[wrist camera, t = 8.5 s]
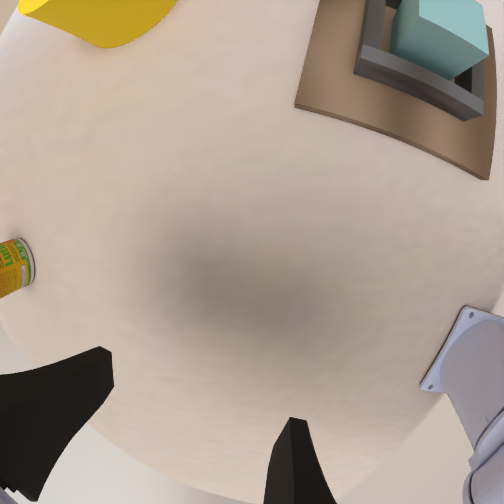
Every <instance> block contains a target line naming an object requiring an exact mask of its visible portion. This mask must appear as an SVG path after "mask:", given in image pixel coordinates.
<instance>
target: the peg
mask: <svg viewBox="0 0 504 504" xmlns="http://www.w3.org/2000/svg"><path fill="white" fill-rule="evenodd" d="M389 53H390V54H393V55H395V56H398V57H400V58H403V59H405V60H407V61H410V62H412V63H414V64H417V65H419V66H421V67H423V68H425V69H427V70H429V71H432V72H434V73H436V74H438V75H440V76H441V77H443V78H445V79H447V80H449V81H450V80H452V79H453V78H455V77H456V76H458V75H459V74H461V73H462V72H464V71H465V70H467V69H469V68H470V67H472V66H473V65H475V64H476V63H478V62H479V61H481V60H483V59H484V58H486V57H487V56H489V49H488V39H487V31H486V24H485V18H484V13H483V7H482V5H481V4H479V3H478V2H476V1H474V0H402V2H401V4H400V6H399V8H398V9H397V11H396V13H395V15H394V17H393V20H392V31H391V40H390V49H389Z"/></svg>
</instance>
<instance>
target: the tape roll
mask: <svg viewBox="0 0 504 504" xmlns="http://www.w3.org/2000/svg"><path fill="white" fill-rule="evenodd" d="M176 2H177V0H20V1H19V5H18V10H19V12H20V13H21V14H23V15H26V16H29V17H31V18H34V19H37V20H39V21H42V22H44V23H47V24H49V25H52V26H54V27H56V28H59V29H61V30H63V31H66V32H68V33H70V34H72V35H75V36H77V37H79V38H81V39H83V40H85V41H87V42H89V43H91V44H93V45H95V46H98V47H101V48H113V47H118V46H121V45H124V44H126V43H129V42H131V41H133V40H135V39H136V38H138V37H140V36H141V35H143V34H144V33H146V32H147V31H149V30H150V29H151V28H153V27H154V26H155V25H156V24H158V23H159V22H160V21H161V20H162V19H163V18H164V17H165V16H166V15H167V14H168V13H169V11H170V10H171V9H172V8H173V6H174V5H175V4H176Z"/></svg>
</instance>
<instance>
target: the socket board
mask: <svg viewBox="0 0 504 504" xmlns="http://www.w3.org/2000/svg"><path fill="white" fill-rule="evenodd" d="M401 2H402V0H320V2H319V6H318V10H317V14H316V18H315V22H314V27H313V31H312V35H311V39H310V43H309V47H308V51H307V55H306V59H305V63H304V67H303V71H302V75H301V79H300V83H299V87H298V91H297V95H296V99H295V108H299V109H304V110H308V111H312V112H315V113H319V114H323V115H326V116H330V117H333V118H337V119H340V120H343V121H347V122H350V123H353V124H356V125H359V126H362V127H365V128H368V129H371V130H374V131H376V132H379V133H382V134H385V135H387V136H390V137H392V138H395V139H398V140H400V141H403V142H405V143H407V144H410V145H412V146H415V147H417V148H419V149H421V150H424V151H426V152H428V153H430V154H432V155H435V156H437V157H439V158H441V159H443V160H445V161H447V162H449V163H451V164H453V165H455V166H457V167H459V168H461V169H463V170H464V171H466V172H468V173H470V174H472V175H474V176H475V177H477V178H479V179H481V180H489V176H490V170H491V163H492V156H493V148H494V139H495V127H496V107H497V81H496V62H495V50H494V42H493V34H492V28H490V27H489V26H487V25H486V31H487V39H488V49H489V56H487V57H486V58H484V59H483V60H481V61H479V62H478V63H476V64H475V65H473V66H472V67H470V68H469V69H467V70H465V71H464V72H462V73H461V74H459V75H458V76H456V77H455V78H453V79H452V80H450V81H449V80H447V79H445V78H443V77H441V76H440V75H438V74H436V73H434V72H432V71H429V70H427V69H425V68H423V67H421V66H419V65H417V64H414V63H412V62H410V61H407V60H405V59H403V58H400V57H398V56H395V55H393V54H390V53H389V49H390V40H391V31H392V20H393V17H394V15H395V13H396V11H397V9H398V8H399V6H400V4H401Z"/></svg>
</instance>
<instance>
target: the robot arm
mask: <svg viewBox="0 0 504 504" xmlns="http://www.w3.org/2000/svg"><path fill="white" fill-rule="evenodd" d="M471 312H472V313H471ZM470 313H471V315H470V316H469V314H470ZM430 385H431V386H430ZM113 387H114V380H113V368H112V353H111V352H110V351H108V350H106V349H104V348H103V347H101V346H99V347H96V348H93V349H90V350H88V351H85V352H83V353H80V354H78V355H75V356H72V357H70V358H67V359H64V360H61V361H59V362H56V363H53V364H50V365H46V366H43V367H40V368H36V369H33V370H28V371H24V372H18V373H12V374H3V375H0V504H18V503H17V502H15V501H14V500H13V499H12V498H11V497H10V496H9V495H8V494H7V493H6V492H5V491H4V490H5V489H6V488H7V487H8V488H9V489H10V490H11V491H12V492H13V493H14V492H15V491H16V490H18V491H19V492H20V493H21V494H22V495H24V496H25V497H26V498H27V499H28V500H30V501H33V502H35V501H38V498H39V495H40V493H41V491H42V489H43V486H44V484H45V482H46V480H47V478H48V476H49V474H50V472H51V470H52V468H53V467H54V465H55V463H56V462H57V460H58V458H59V457H60V455H61V454H62V452H63V451H64V449H65V448H66V446H67V445H68V443H69V442H70V440H71V439H72V438H73V437H74V435H75V434H76V433H77V432H78V431H79V430H80V429H81V428H82V427H83V425H84V424H85V423H86V422H87V421H88V420H89V419H90V418H91V417H92V415H93V414H94V413H95V412H96V411H97V410H98V409H99V408H100V406H101V405H102V404H103V403H104V401H105V400H106V398H107V397H108V395H109V394H110V392H111V390H112V389H113ZM420 388H421V390H422V391H430V392H440V393H447V395H448V397H449V398H450V400H451V402H452V404H453V406H454V408H455V410H456V412H457V414H458V416H459V419H460V421H461V423H462V425H463V427H464V429H465V431H466V433H467V436H468V438H469V440H470V442H471V445H472V447H473V449H474V454H473V455H472V457H471V458H470V459H469V464H470V467H471V469H472V471H471V472H470V473H469V475H468V476H467V478H466V480H465V483H464V486H463V503H464V504H504V317H501V316H498V315H495V314H492V313H488V312H485V311H482V310H479V309H475V308H472V307H469V306H466V307H464V308H463V309H462V311H461V313H460V315H459V317H458V319H457V321H456V323H455V325H454V327H453V329H452V331H451V333H450V335H449V337H448V339H447V341H446V343H445V344H444V346H443V348H442V350H441V352H440V353H439V355H438V357H437V358H436V360H435V362H434V364H433V365H432V367H431V369H430V370H429V372H428V373H427V375H426V377H425V378H424V380H423V381H422V383H421V384H420ZM263 504H337V503H336V501H335V499H334V498H333V496H332V493H331V491H330V489H329V487H328V485H327V482H326V480H325V478H324V475H323V473H322V470H321V467H320V464H319V462H318V459H317V456H316V453H315V450H314V446H313V443H312V439H311V436H310V432H309V428H308V423H307V421H306V420H302V419H297V418H293V417H290V418H289V420H288V421H287V423H286V425H285V427H284V429H283V430H282V432H281V434H280V436H279V437H278V439H277V441H276V442H275V444H274V446H273V450H272V454H271V458H270V462H269V466H268V473H267V480H266V488H265V496H264V503H263Z"/></svg>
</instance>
